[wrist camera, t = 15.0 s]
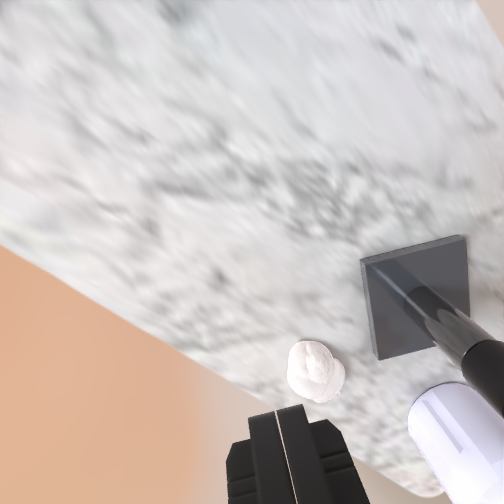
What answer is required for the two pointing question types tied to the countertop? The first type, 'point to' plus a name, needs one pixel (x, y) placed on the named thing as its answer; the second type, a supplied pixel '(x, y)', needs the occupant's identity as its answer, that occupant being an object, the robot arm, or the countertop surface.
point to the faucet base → (401, 280)
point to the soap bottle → (461, 442)
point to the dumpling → (314, 371)
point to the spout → (487, 372)
